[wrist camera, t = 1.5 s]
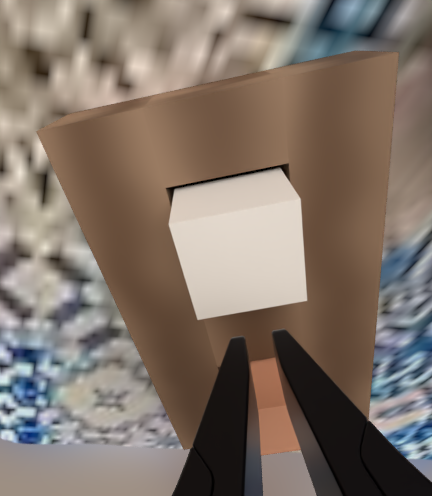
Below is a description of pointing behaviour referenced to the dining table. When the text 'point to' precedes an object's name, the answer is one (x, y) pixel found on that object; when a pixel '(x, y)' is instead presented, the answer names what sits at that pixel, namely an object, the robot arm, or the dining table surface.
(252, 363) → the terracotta plunger
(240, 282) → the white square block
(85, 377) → the dining table surface
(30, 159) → the dining table surface
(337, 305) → the button panel
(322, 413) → the robot arm
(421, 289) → the dining table surface
